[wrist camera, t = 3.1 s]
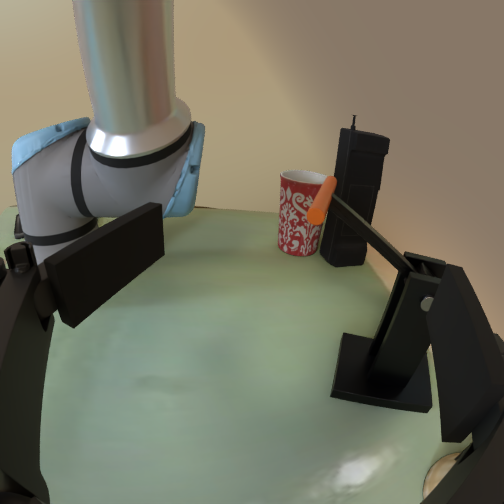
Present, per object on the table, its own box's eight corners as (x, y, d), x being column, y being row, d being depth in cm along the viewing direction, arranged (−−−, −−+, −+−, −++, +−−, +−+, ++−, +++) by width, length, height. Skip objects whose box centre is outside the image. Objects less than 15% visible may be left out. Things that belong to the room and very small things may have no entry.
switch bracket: (329, 397, 27) (373, 281, 21) (340, 340, 35) (371, 235, 28) (427, 413, 24) (494, 308, 18) (422, 356, 32) (467, 258, 26)
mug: (301, 264, 51) (313, 185, 44) (262, 244, 56) (269, 172, 50) (340, 245, 59) (352, 178, 52) (304, 229, 64) (313, 166, 58)
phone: (13, 235, 50) (16, 214, 60) (14, 239, 50) (17, 218, 60) (45, 226, 54) (42, 207, 64) (46, 231, 55) (43, 211, 65)
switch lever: (297, 224, 20) (319, 197, 19) (318, 186, 29) (333, 168, 28) (430, 341, 20) (454, 323, 19) (415, 274, 29) (431, 259, 28)
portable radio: (352, 249, 57) (376, 119, 46) (369, 264, 52) (398, 124, 41) (317, 251, 55) (337, 112, 44) (331, 267, 50) (357, 115, 39)
